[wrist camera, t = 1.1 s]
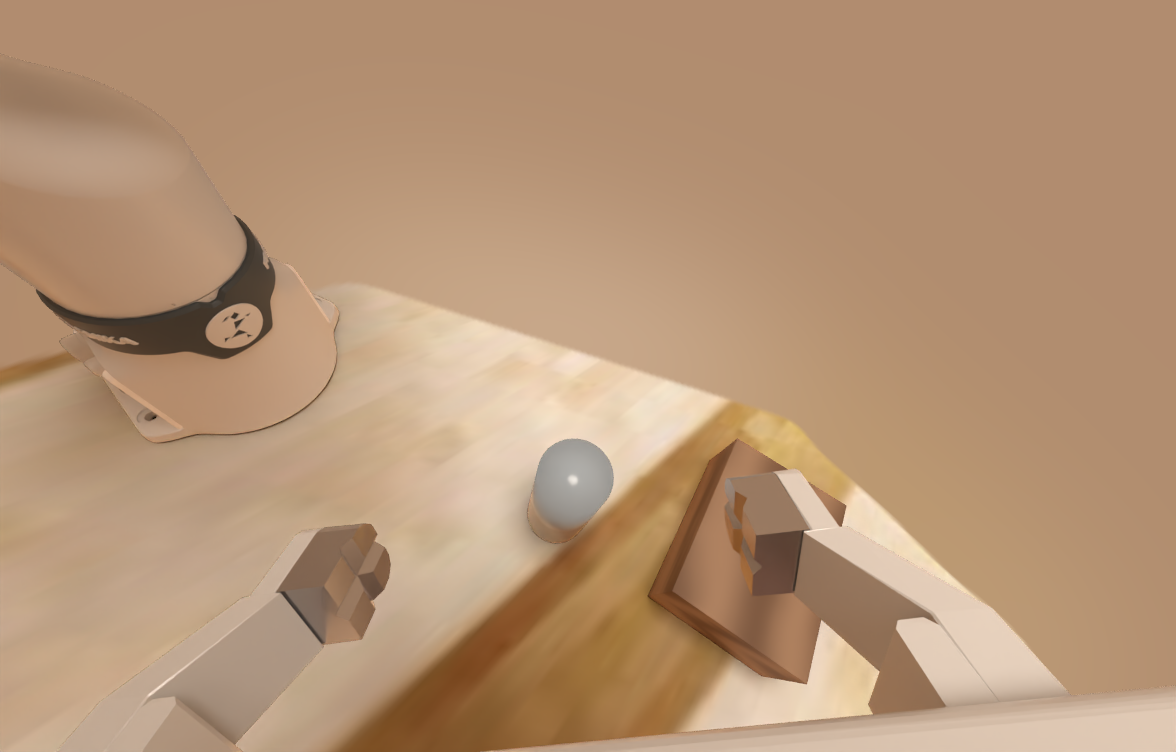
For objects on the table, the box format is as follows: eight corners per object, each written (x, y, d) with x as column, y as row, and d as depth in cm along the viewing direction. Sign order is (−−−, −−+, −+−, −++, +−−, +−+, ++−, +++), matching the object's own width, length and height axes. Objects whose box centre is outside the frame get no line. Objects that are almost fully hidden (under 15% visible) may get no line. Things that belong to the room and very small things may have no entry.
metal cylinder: (515, 520, 37) (521, 484, 28) (549, 472, 40) (564, 425, 31) (565, 555, 36) (588, 531, 27) (596, 504, 39) (626, 465, 30)
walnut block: (647, 596, 36) (672, 591, 31) (709, 460, 44) (737, 438, 39) (761, 676, 34) (806, 684, 29) (804, 520, 42) (846, 505, 37)
